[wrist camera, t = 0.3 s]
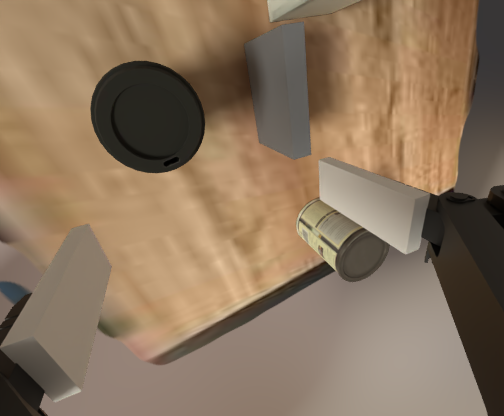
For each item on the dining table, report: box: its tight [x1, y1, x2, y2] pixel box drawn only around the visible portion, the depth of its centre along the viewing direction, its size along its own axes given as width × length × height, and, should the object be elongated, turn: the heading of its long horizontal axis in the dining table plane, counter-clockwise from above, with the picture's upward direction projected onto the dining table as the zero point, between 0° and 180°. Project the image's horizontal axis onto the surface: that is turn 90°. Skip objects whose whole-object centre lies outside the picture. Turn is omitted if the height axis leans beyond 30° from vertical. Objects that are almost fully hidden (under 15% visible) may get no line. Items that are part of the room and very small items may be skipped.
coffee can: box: [296, 198, 390, 282], centre depth 47 cm, size 10×10×14 cm
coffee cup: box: [91, 61, 205, 173], centre depth 28 cm, size 10×10×15 cm
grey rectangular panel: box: [244, 22, 311, 160], centre depth 33 cm, size 14×3×12 cm, turn 10°
